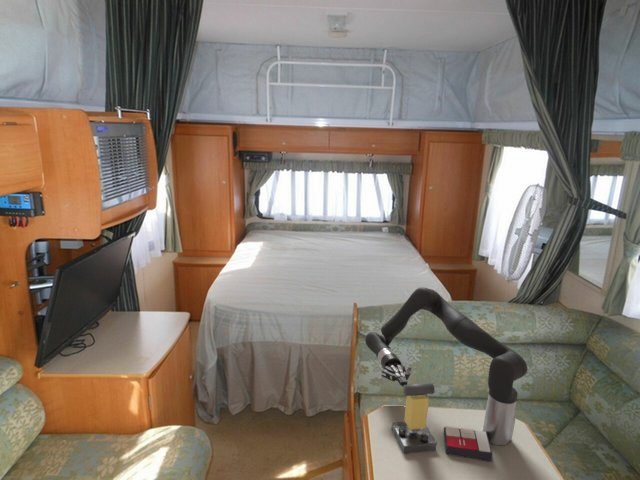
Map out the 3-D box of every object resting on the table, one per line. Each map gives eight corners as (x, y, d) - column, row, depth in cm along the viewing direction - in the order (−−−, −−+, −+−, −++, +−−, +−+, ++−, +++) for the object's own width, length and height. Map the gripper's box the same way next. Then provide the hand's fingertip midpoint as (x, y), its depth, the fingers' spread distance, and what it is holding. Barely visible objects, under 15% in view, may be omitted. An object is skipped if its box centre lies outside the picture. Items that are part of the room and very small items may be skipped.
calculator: (443, 424, 157) (486, 429, 154) (443, 434, 158) (485, 439, 155) (446, 446, 146) (492, 451, 143) (445, 456, 147) (491, 462, 144)
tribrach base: (421, 426, 160) (422, 416, 159) (435, 449, 149) (437, 439, 148) (391, 429, 158) (392, 419, 157) (403, 453, 146) (404, 443, 145)
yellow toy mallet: (424, 422, 155) (429, 379, 151) (430, 432, 151) (435, 387, 146) (398, 425, 153) (402, 381, 149) (403, 435, 149) (408, 390, 144)
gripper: (374, 353, 175) (388, 377, 158) (404, 351, 177) (422, 374, 161) (373, 370, 176) (387, 394, 160) (403, 367, 179) (420, 391, 163)
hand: (404, 384), depth 160 cm, fingers closed
